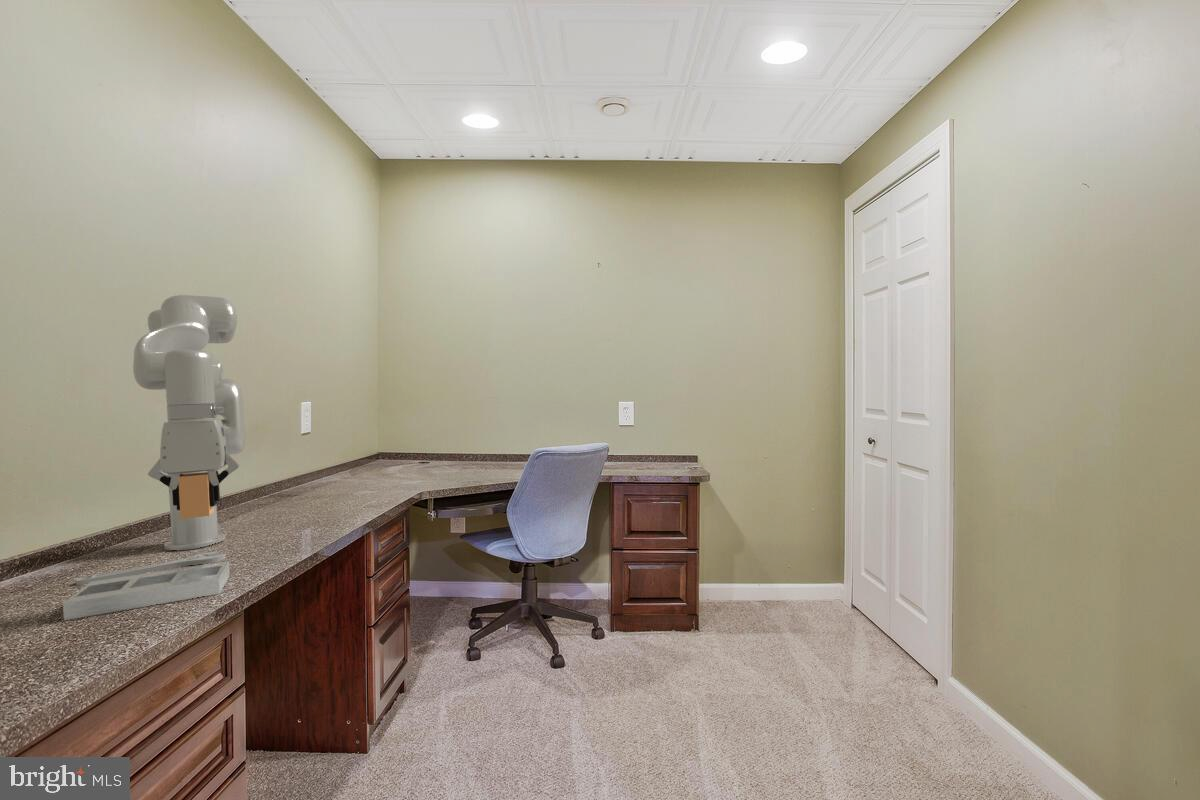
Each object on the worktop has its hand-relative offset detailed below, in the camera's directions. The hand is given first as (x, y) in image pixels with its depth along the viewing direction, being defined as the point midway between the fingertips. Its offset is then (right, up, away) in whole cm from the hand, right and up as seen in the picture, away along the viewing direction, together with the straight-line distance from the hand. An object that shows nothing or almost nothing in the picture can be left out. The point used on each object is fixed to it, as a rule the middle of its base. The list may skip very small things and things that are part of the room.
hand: (197, 506), depth 105 cm
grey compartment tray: (-6, -16, -3) cm, 18 cm away
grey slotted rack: (-19, -17, +14) cm, 29 cm away
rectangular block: (0, -2, 0) cm, 2 cm away
